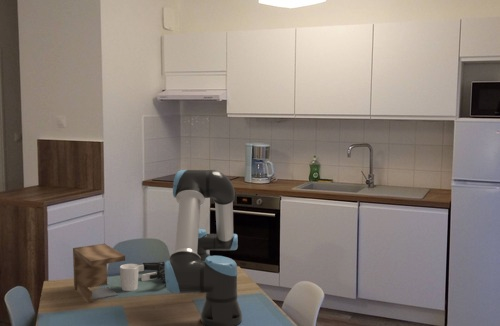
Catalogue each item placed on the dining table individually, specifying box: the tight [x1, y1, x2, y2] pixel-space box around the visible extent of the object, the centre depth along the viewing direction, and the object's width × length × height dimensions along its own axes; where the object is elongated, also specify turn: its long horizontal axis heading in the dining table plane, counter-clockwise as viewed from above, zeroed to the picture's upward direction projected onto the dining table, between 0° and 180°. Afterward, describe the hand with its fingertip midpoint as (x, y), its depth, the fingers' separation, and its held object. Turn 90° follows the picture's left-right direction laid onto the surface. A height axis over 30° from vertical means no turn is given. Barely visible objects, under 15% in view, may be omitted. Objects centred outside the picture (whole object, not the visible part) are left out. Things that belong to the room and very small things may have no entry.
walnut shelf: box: [72, 243, 126, 304], centre depth 232 cm, size 14×24×18 cm, turn 34°
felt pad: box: [89, 286, 119, 301], centre depth 232 cm, size 11×11×1 cm
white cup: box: [119, 263, 139, 292], centre depth 239 cm, size 8×8×10 cm
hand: (135, 273), depth 241 cm, fingers open, 13 cm apart
